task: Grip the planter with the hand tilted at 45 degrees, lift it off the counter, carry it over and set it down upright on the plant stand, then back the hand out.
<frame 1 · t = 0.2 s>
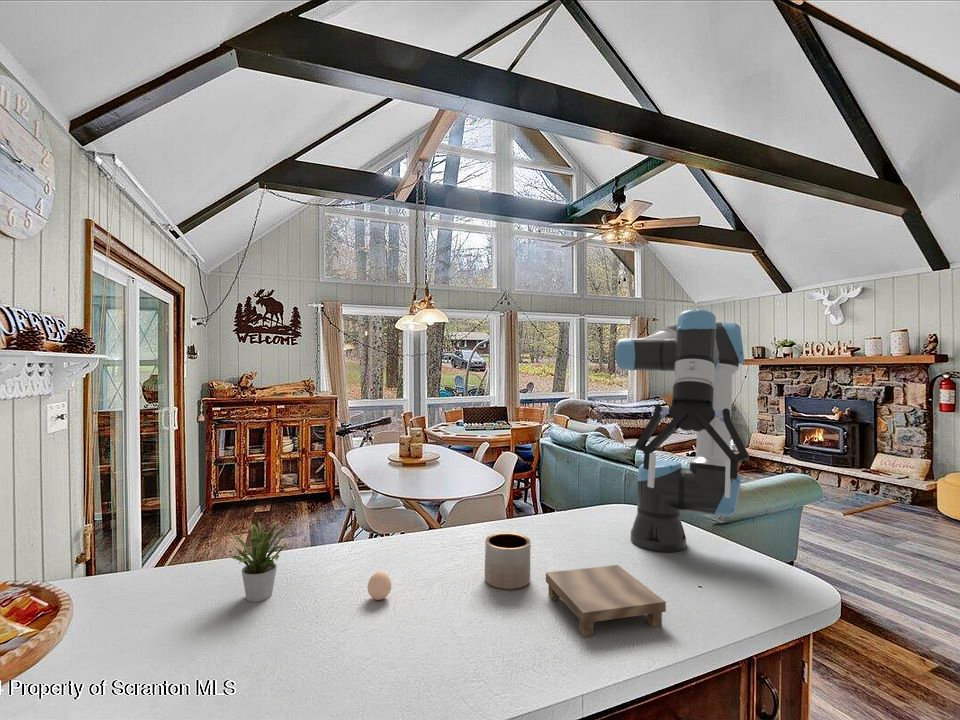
hand: (687, 492, 96), 28 cm above the counter, tool tilted 20°, fingers open, 13 cm apart
plant stand: (601, 609, 106), on the counter
house plant: (265, 597, 110), on the counter
egg: (379, 599, 110), on the counter
planter: (507, 581, 120), on the counter
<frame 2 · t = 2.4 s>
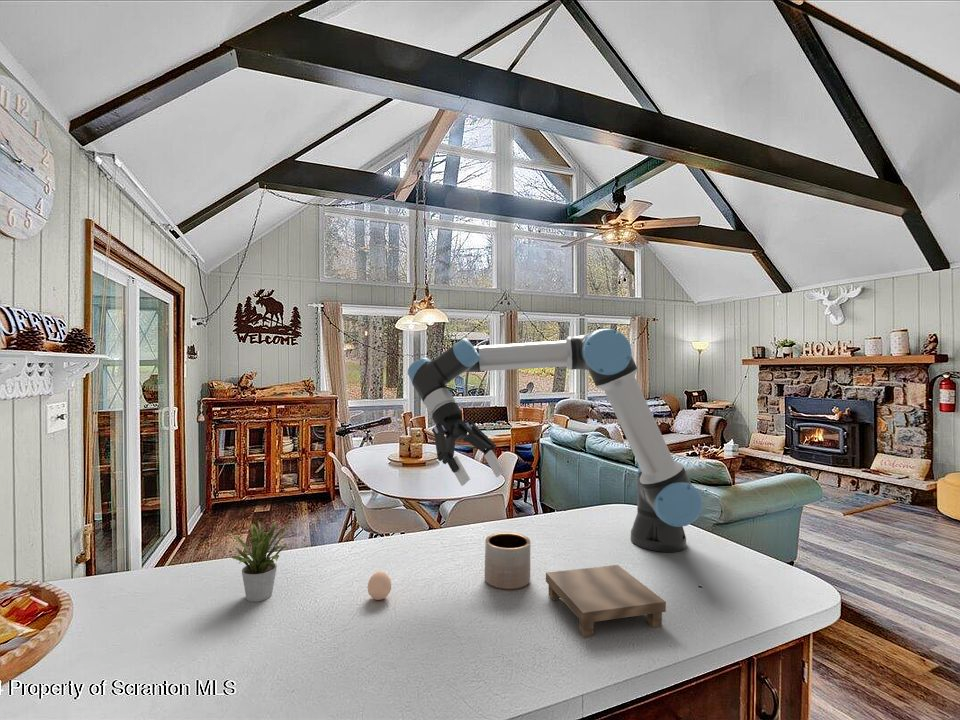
hand: (484, 478, 124), 23 cm above the counter, tool tilted 40°, fingers open, 13 cm apart
nothing on the counter moved.
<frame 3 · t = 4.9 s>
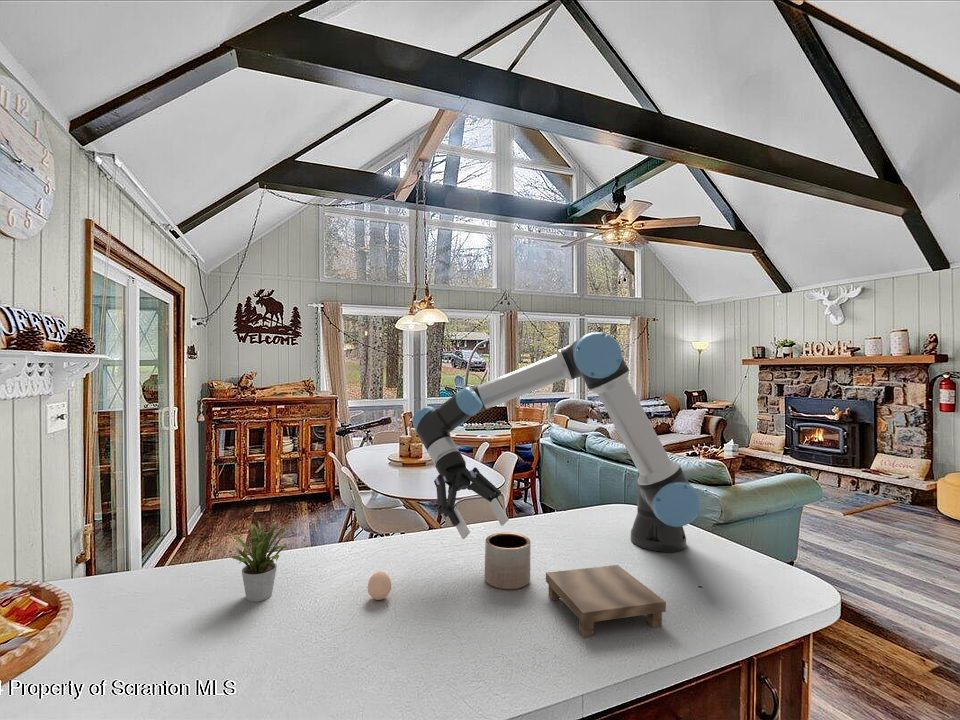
hand: (486, 529, 123), 11 cm above the counter, tool tilted 45°, fingers open, 13 cm apart
nothing on the counter moved.
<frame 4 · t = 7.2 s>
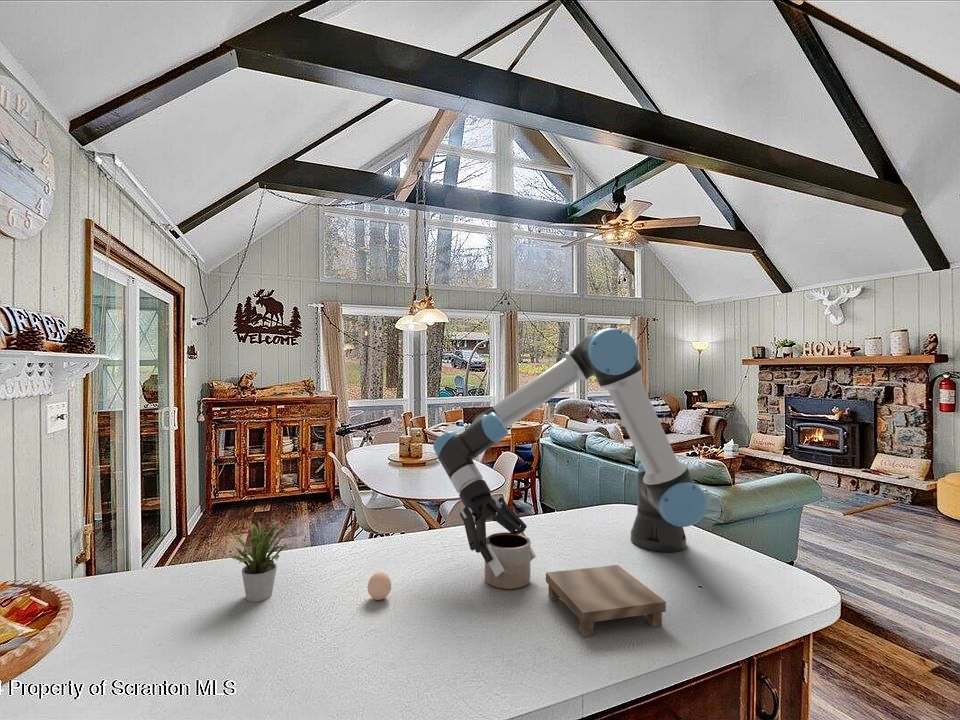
hand: (516, 566, 117), 4 cm above the counter, tool tilted 45°, fingers closed on planter, 11 cm apart
planter: (507, 581, 120), on the counter, touching gripper
everything else where it was.
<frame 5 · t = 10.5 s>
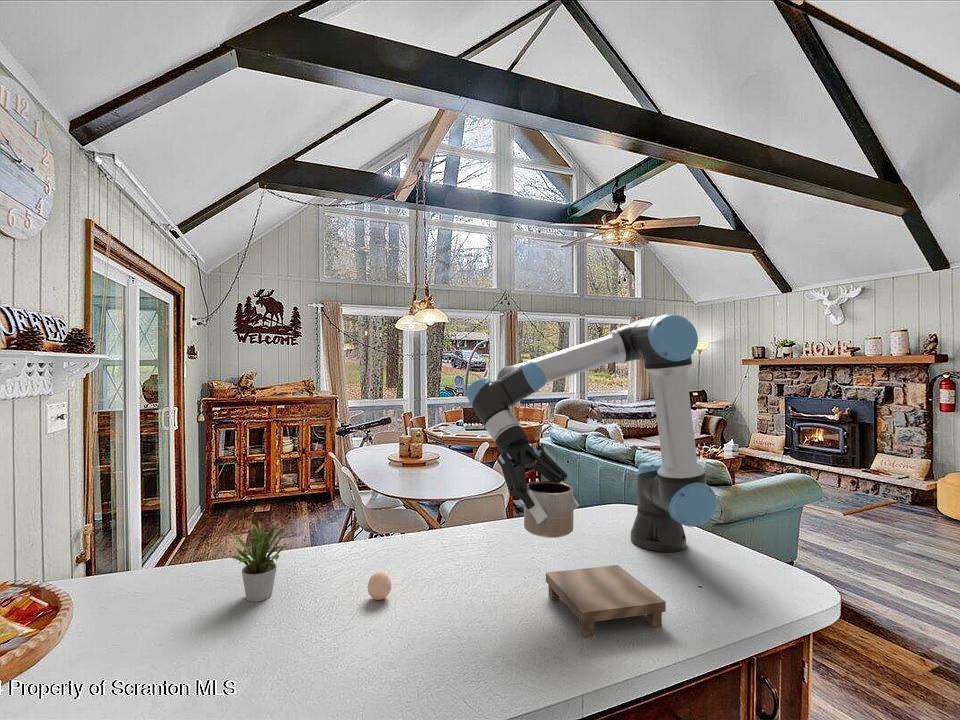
hand: (559, 514, 110), 19 cm above the counter, tool tilted 45°, fingers closed on planter, 11 cm apart
planter: (548, 530, 112), point 15 cm above the counter, touching gripper
everything else where it was.
when the fingers open (11 cm above the counter, at t = 13.8 s): planter drops 1 cm, resting on plant stand.
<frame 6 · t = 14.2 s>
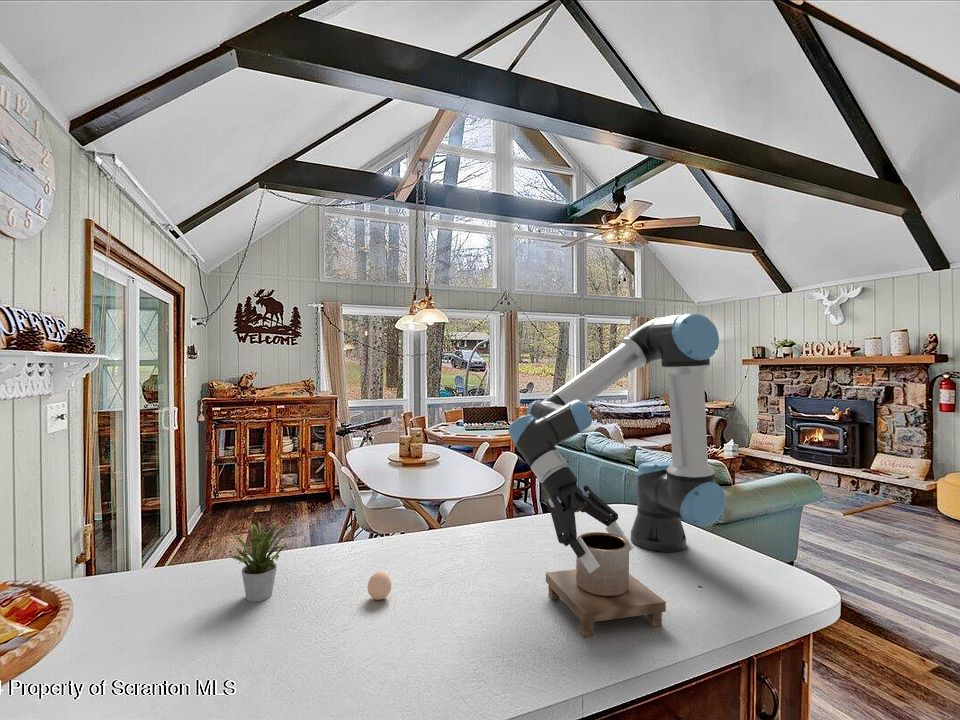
hand: (612, 560, 104), 11 cm above the counter, tool tilted 45°, fingers open, 13 cm apart
planter: (601, 587, 106), point 5 cm above the counter, touching plant stand
everything else where it was.
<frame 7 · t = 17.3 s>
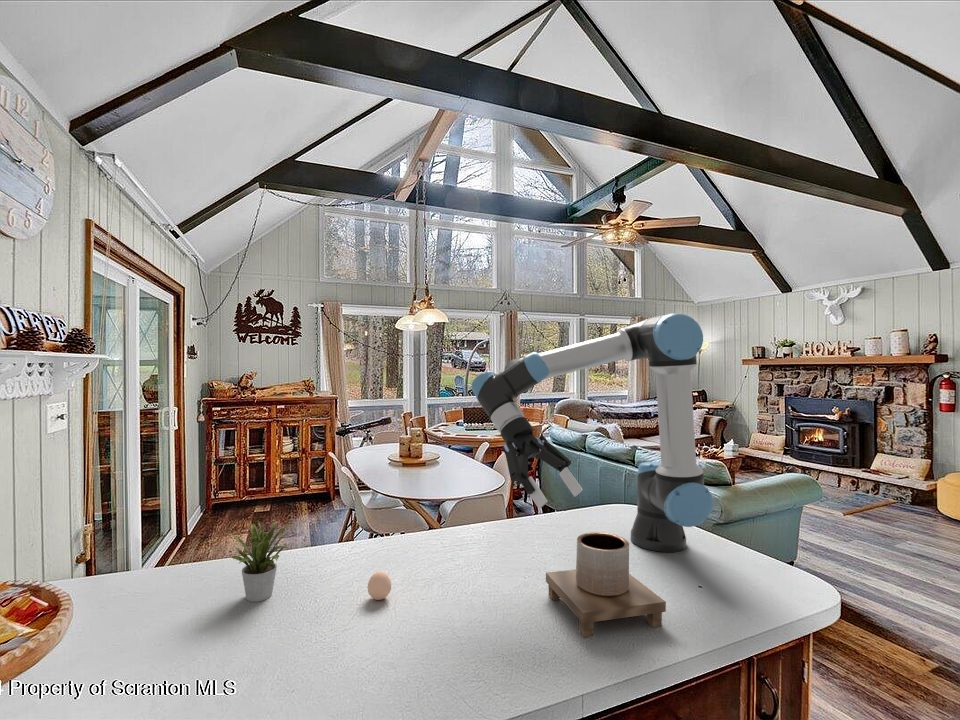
hand: (561, 499, 113), 21 cm above the counter, tool tilted 45°, fingers open, 13 cm apart
nothing on the counter moved.
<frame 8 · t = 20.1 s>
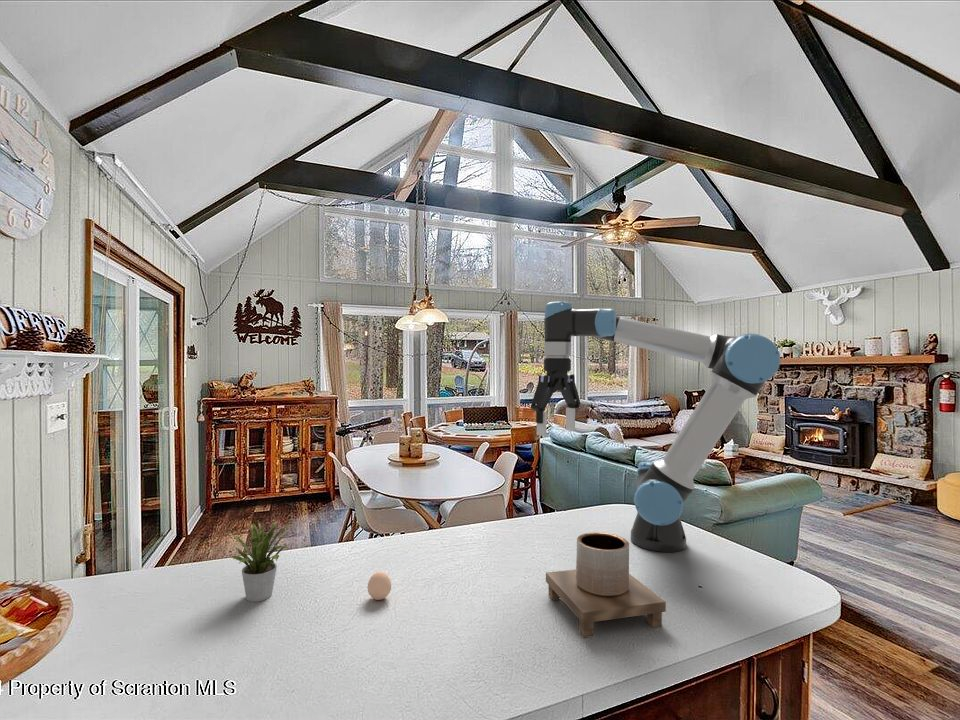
hand: (556, 432, 142), 32 cm above the counter, tool pointing down, fingers open, 13 cm apart
nothing on the counter moved.
at the end: planter inside the target area on the plant stand (0.0 cm from its centre), point 4.8 cm above the plant stand's base; planter tilted 0°; the gripper is holding nothing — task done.
